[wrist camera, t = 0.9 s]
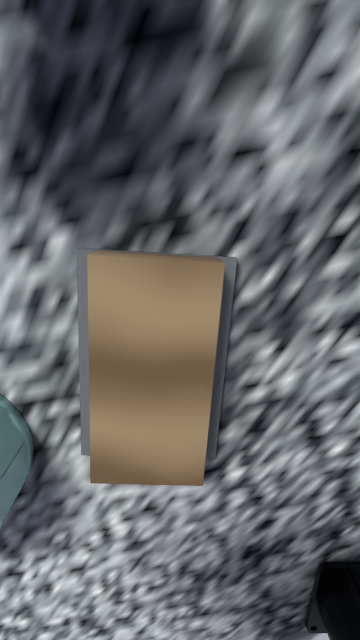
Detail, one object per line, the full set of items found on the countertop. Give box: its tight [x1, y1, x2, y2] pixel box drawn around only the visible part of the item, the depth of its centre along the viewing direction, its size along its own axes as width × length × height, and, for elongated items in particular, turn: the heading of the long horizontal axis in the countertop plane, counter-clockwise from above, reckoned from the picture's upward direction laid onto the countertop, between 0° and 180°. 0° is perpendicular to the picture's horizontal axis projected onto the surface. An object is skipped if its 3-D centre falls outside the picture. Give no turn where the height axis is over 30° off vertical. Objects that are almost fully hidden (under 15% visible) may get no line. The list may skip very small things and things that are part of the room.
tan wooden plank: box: [87, 250, 225, 486], centre depth 17 cm, size 12×6×2 cm, turn 176°
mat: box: [77, 248, 237, 458], centre depth 19 cm, size 12×8×1 cm, turn 176°
